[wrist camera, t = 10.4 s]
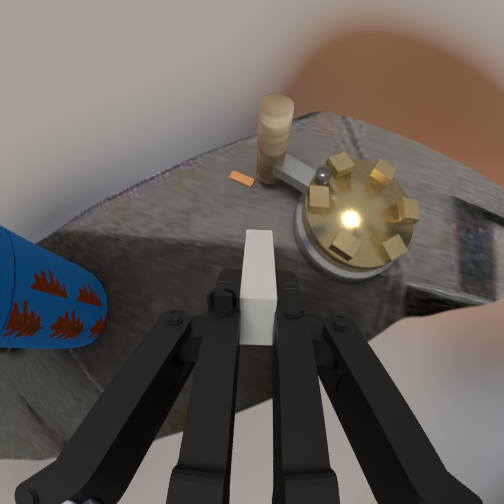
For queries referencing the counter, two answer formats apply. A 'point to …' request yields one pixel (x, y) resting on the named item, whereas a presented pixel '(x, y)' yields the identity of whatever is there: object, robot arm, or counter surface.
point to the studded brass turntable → (338, 197)
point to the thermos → (46, 298)
